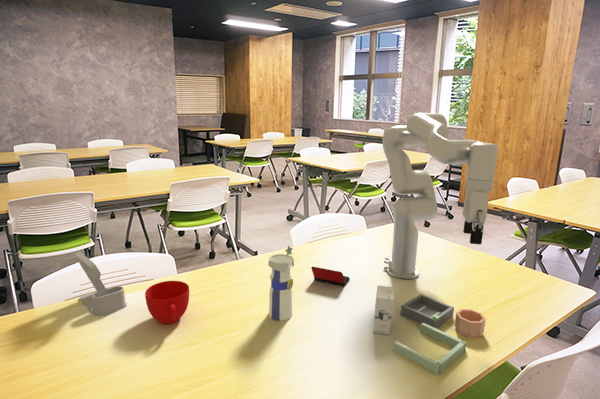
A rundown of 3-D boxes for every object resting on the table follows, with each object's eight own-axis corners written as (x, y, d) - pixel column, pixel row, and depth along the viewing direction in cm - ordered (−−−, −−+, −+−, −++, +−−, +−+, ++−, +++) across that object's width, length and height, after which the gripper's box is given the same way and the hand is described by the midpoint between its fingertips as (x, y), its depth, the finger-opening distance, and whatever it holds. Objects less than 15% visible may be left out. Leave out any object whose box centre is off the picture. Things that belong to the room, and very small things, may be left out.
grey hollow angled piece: (128, 306, 128) (123, 256, 124) (96, 318, 121) (89, 265, 117) (108, 289, 140) (103, 242, 136) (77, 299, 133) (71, 250, 128)
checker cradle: (400, 315, 126) (401, 303, 125) (419, 303, 134) (420, 292, 133) (435, 331, 117) (436, 319, 116) (453, 317, 125) (455, 306, 124)
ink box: (374, 318, 124) (376, 284, 121) (390, 320, 123) (392, 286, 120) (373, 333, 116) (376, 297, 113) (390, 335, 115) (393, 299, 112)
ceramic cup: (152, 341, 110) (149, 310, 107) (145, 313, 124) (142, 285, 122) (197, 330, 115) (196, 300, 113) (186, 304, 130) (184, 277, 128)
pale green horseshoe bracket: (393, 350, 108) (394, 342, 107) (422, 329, 118) (423, 322, 117) (437, 374, 98) (438, 366, 98) (465, 350, 108) (466, 342, 108)
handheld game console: (350, 279, 152) (351, 262, 150) (341, 291, 142) (342, 272, 140) (320, 273, 157) (321, 256, 155) (310, 284, 147) (310, 266, 145)
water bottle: (298, 310, 127) (299, 239, 122) (286, 323, 120) (287, 248, 114) (276, 305, 131) (276, 235, 125) (263, 317, 123) (263, 243, 117)
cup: (450, 330, 118) (452, 314, 117) (462, 321, 123) (464, 306, 122) (475, 341, 112) (477, 325, 111) (486, 331, 117) (488, 316, 116)
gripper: (460, 178, 124) (454, 228, 129) (472, 189, 108) (464, 247, 112) (485, 179, 123) (478, 230, 127) (500, 191, 106) (492, 249, 111)
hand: (471, 238), depth 120 cm, fingers open, 9 cm apart
